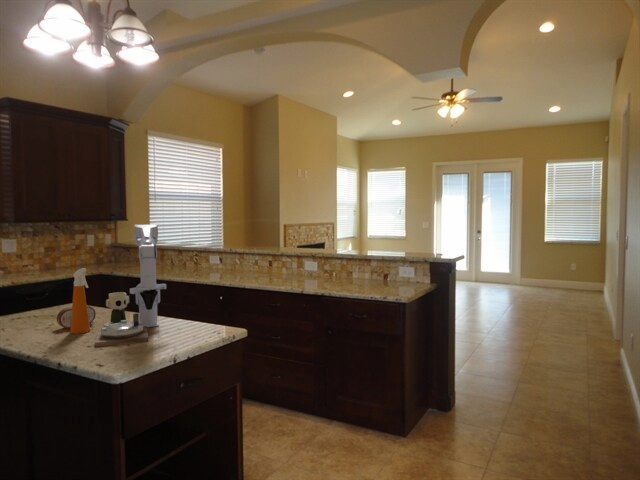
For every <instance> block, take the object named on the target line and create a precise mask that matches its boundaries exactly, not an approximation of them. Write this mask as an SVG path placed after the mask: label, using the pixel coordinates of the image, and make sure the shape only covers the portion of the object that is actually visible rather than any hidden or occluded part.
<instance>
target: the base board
mask: <svg viewBox="0 0 640 480" xmlns="http://www.w3.org/2000/svg"><path fill="white" fill-rule="evenodd" d="M143 342H144V343H145V342H149V335H148V327H147V326H143V332H142V333H141V334H139V335H136V336H132V337H127V338H104V337H102V336H101V329H99V330H97V334H96V338H95V341H94V346H95V348H96V347H107V346H113V345H114V346H115V345H125V344H133V343H143Z"/></svg>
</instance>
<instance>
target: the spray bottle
mask: <svg viewBox="0 0 640 480" xmlns="http://www.w3.org/2000/svg"><path fill="white" fill-rule="evenodd" d="M86 272H87V268H85V267H84V268H83V267H81V268H79V269H77V270H76V271H74V273H73V278H74V281H73V292H72V304H71V305H72V306H71V307H72V317H71V328H70V333H71V334H73V335H75V334H76V335H79V334H86V333H88V332H90V331H91V326H90V324H89V318H88V311H87V305H88V304H87V297H86V291H85V288H86V289H88V288H90V287H89V285H88V283H87V280H86Z"/></svg>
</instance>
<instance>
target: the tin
mask: <svg viewBox="0 0 640 480" xmlns="http://www.w3.org/2000/svg"><path fill="white" fill-rule="evenodd" d="M87 311H88V318H89V325H90V324H91V323H93V322H94V320H95V319H96V315H97V314H96V310H95V309H94V307H92V306H90V305H88V304H87ZM71 317H72V306H69V307H65V308H63V309H61V310H60V311H59V312H58V314H57V316H56V323H57V324H58V325H59V326H60V327H63V328H65V329H71Z"/></svg>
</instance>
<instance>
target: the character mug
mask: <svg viewBox="0 0 640 480" xmlns="http://www.w3.org/2000/svg"><path fill="white" fill-rule="evenodd" d="M129 303H130V295H127V293H126V292H124V291H120V292H119V291H117V292H112V293H111V292H110V293H108V299H106V300H105V306H106V308H109V309H111V314H110V322H109V323H111V324H114V323H121V320H127V319H126V318H127V317H126V312H125V308H127V307H128V304H129Z"/></svg>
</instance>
